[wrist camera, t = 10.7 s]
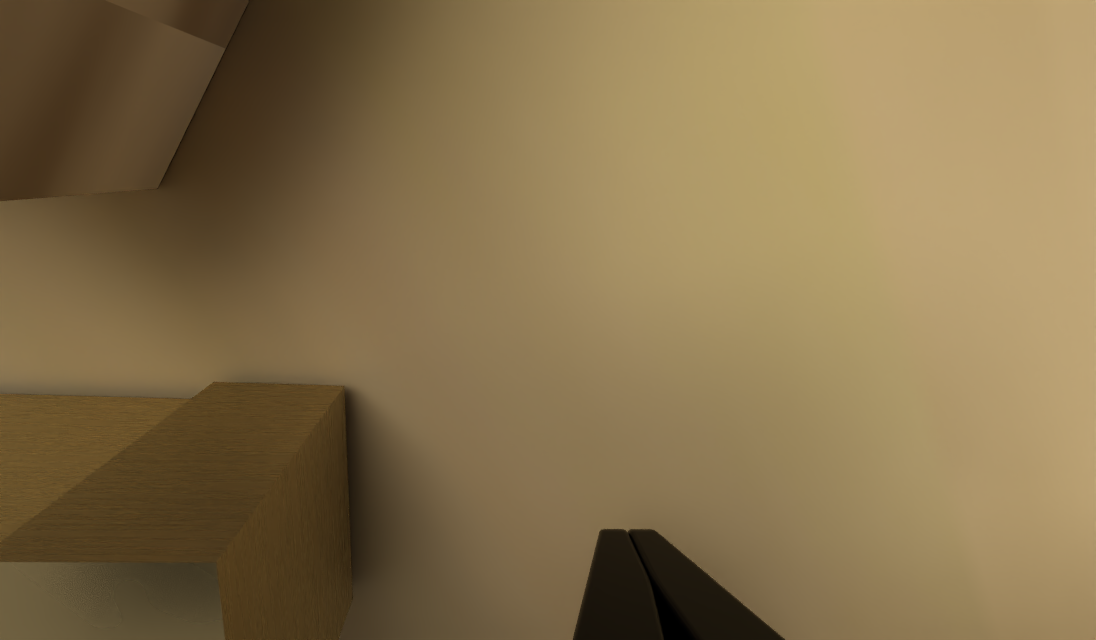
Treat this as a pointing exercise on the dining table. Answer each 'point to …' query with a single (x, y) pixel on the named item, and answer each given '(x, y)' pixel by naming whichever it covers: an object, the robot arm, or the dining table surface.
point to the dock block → (102, 89)
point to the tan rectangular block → (175, 515)
